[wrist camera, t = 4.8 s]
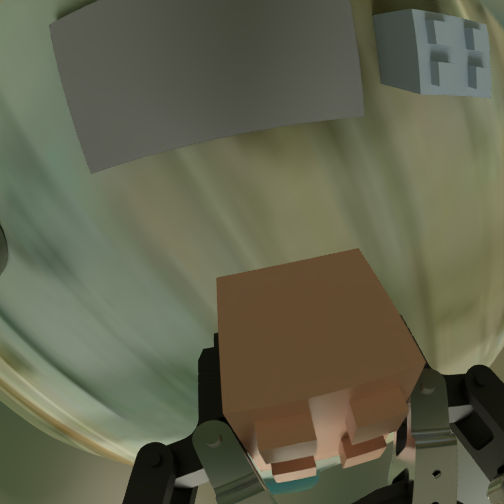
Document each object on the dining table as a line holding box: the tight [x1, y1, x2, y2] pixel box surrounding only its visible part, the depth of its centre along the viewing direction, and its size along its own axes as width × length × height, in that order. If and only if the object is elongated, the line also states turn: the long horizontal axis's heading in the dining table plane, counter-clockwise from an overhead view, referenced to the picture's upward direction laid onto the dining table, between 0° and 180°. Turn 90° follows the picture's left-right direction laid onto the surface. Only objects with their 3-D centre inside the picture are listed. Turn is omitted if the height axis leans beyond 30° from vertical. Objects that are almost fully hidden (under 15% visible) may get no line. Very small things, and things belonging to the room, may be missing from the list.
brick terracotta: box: [216, 248, 426, 483], centre depth 10 cm, size 6×5×6 cm
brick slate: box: [372, 9, 491, 98], centre depth 13 cm, size 6×5×6 cm
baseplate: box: [49, 0, 365, 174], centre depth 15 cm, size 18×11×1 cm, turn 100°
